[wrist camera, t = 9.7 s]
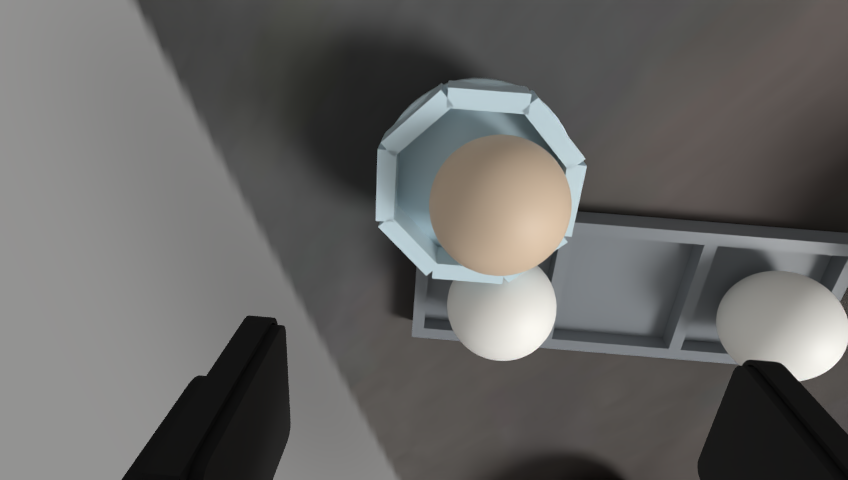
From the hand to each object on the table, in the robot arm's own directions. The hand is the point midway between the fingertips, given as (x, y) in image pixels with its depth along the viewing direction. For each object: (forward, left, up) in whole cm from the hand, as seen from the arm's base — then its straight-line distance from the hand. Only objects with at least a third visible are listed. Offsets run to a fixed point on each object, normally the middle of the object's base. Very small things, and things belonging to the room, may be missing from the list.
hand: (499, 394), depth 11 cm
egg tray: (-5, -8, -15) cm, 18 cm away
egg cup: (+1, 0, -15) cm, 15 cm away
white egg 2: (-5, -14, -14) cm, 21 cm away
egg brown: (+1, 0, -11) cm, 11 cm away
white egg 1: (-6, -1, -14) cm, 16 cm away
